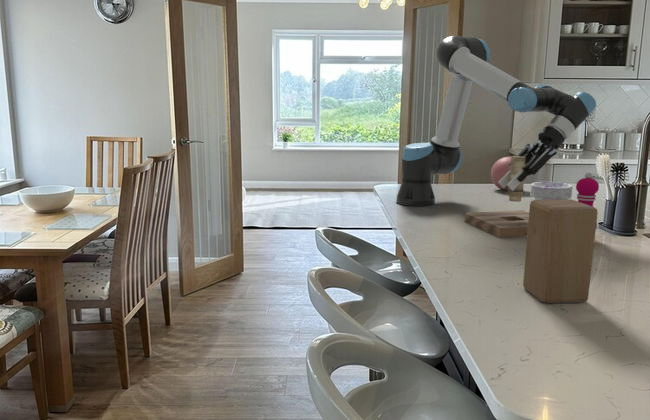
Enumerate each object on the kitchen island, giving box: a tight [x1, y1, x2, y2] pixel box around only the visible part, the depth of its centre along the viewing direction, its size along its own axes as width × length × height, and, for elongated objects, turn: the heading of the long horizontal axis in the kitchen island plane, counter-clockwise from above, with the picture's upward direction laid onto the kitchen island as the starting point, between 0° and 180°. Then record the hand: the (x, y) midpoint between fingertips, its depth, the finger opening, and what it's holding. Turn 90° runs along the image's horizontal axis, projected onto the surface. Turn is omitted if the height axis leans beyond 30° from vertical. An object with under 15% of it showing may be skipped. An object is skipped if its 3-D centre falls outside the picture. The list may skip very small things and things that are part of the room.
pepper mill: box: [575, 172, 600, 229], centre depth 158 cm, size 7×7×20 cm
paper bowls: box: [529, 181, 573, 200], centre depth 214 cm, size 15×15×8 cm
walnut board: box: [464, 209, 529, 239], centre depth 174 cm, size 22×22×3 cm
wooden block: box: [522, 198, 599, 304], centre depth 112 cm, size 10×10×20 cm
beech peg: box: [508, 155, 526, 203], centre depth 171 cm, size 4×4×14 cm
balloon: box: [490, 156, 535, 191], centre depth 243 cm, size 15×20×15 cm
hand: (505, 186), depth 171 cm, fingers closed on beech peg, 4 cm apart
